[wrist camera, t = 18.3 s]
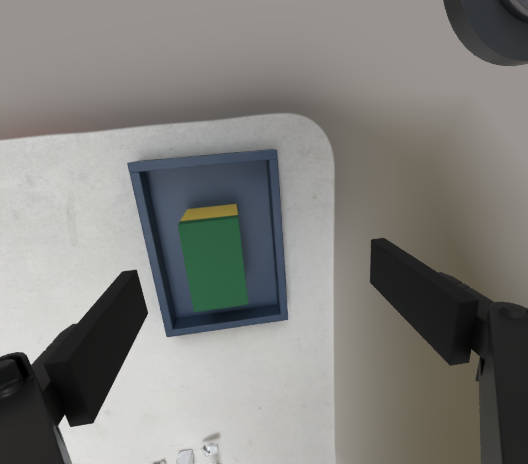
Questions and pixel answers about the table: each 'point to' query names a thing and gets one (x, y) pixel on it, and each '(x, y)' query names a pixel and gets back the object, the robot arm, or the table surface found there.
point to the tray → (250, 223)
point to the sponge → (213, 257)
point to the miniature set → (186, 456)
